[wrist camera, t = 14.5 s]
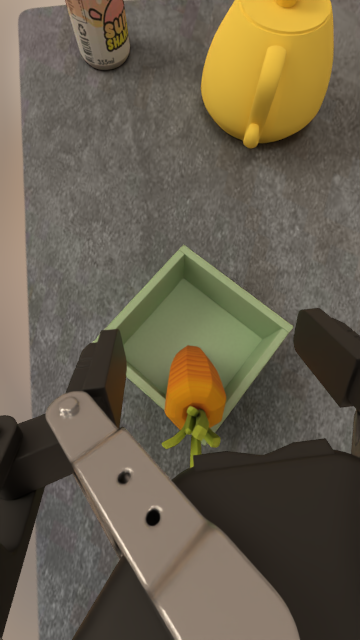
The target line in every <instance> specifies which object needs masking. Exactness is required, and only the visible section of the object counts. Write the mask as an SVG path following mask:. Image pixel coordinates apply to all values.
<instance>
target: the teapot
mask: <svg viewBox="0 0 360 640" xmlns="http://www.w3.org/2000/svg"><path fill="white" fill-rule="evenodd" d="M333 49H334V44H333V14H332V6H331V2H330V0H235V1H234V3H233V4H232V6H231V8H230V9H229V11H228V13H227V14H226V16H225V18H224V19H223V21H222V23H221V24H220V26H219V28H218V30H217V32H216V34H215V36H214V38H213V41H212V43H211V46H210V48H209V51H208V54H207V58H206V61H205V65H204V69H203V75H202V83H201V92H202V98H203V102H204V104H205V107H206V109H207V111H208V112H209V114H210V115H211V117H212V118H213V119H214V121H215V122H216V123H217V124H218V125H219V127H220V128H221V129H222V130H224V131H225V132H226V133H228V134H229V135H231V136H233V137H235V138H237V139H240V140H243V144H244V145H245V146H246V147H247V148H254V147H256V146H257V144H258V143H269V142H274V141H278V140H281V139H283V138H286V137H288V136H290V135H292V134H294V133H296V132H298V131H299V130H301V129H303V128H304V127H305V126H306V125H307V124H309V122H310V121H311V120H312V119H313V118H314V117H315V116H316V114H317V112H318V111H319V109H320V106H321V104H322V102H323V99H324V97H325V94H326V91H327V88H328V84H329V80H330V75H331V70H332V63H333Z"/></svg>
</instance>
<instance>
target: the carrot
mask: <svg viewBox="0 0 360 640" xmlns="http://www.w3.org/2000/svg"><path fill="white" fill-rule="evenodd" d="M225 403H226V394H225V391H224V388H223V385H222V382H221V379H220V377H219V374H218V372H217V370H216V368H215V367H214V365H213V364H212V362H211V361H210V360H209V358H208V357H207V356H206V355H205V353H204V352H203V351H202V350H201V348H199V347H197V346H190V345H187V346H186V347H185V348H183V349H182V350H180V351H179V352H178V353H177V354H176V355H175V357H174V359H173V361H172V364H171V367H170V373H169V379H168V386H167V393H166V401H165V414H166V416H167V417H168V418H169V419H170V420H171V421H172V422H173V423H174V424H175V425H176V426H177V427H178V428H179V429H180V431H179V432H178V433H177V434H176V435H175V436H173V437H172V438H170V439H168V440H166V441H164V442H163V443H162V446H163V447H164V448H166V449H168V448H171V447H173V446H175V445H177V444H179V443H180V441H181V440H182V439H183V438H184V437H185V436H186V434H188V435H189V434H191V433H192V437H191V454H190V468H191V467H193V466H194V464H193V455H200V454H201V441H202V440H203V438H204V439H205V441H206V442H207V443H208V444H209V445H210V446H211V447H214V448H216V447H218V446H219V444H220V439H221V438H220V437H219V436H218V435H217V434H216V433H214V432H213V431H212V430H211V429H210V428H211V427H213V426H214V425H216V424H218V423H219V422H221V421H222V416H223V412H224V408H225Z"/></svg>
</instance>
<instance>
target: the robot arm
mask: <svg viewBox="0 0 360 640" xmlns="http://www.w3.org/2000/svg"><path fill="white" fill-rule="evenodd" d="M294 348H295V350H296V352H297V353H298V355H299V356H300V357H301V359H302V360H303V361H304V362H305V364H306V365H307V366H308V367H309V369H310V370H311V371H312V373H313V374H314V375H315V376H316V378H317V379H318V380H319V381H320V383H321V384H322V385H323V386H324V388H325V389H326V390H327V392H328V393H329V394H330V395H331V397H332V398H333V399H334V400H335V402H336V403H337V404H338V406H339V407H340V408H341V407H349V406H354V407H355V408H356V411H355V414H354V422H353V435H352V448H351V454H349V453H346V452H342V451H338V450H333V449H332V448H331V446H330V444H329V443H328V441H327V440H326V438H325V439H317V440H309V441H301V442H294V443H291V444H289V445H287V446H284V447H282V448H280V449H277V450H275V451H273V452H270V453H268V454H265V455H255V454H246V453H238V452H229V451H223V452H215V453H207V454H200V455H193V464H194V466H193V467H191V468H189V469H187V470H185V471H183V472H181V473H180V474H178V475H177V476H176V477H175V478H173V479H172V480H171V479H170V478H169V477H168V476H167V475H166V474H165V473H164V471H163V470H162V469H161V468H160V467H159V466H158V465H157V463H156V462H155V461H154V460H153V459H152V458H151V457H150V455H149V454H148V453H147V452H146V451H145V450H144V449H143V448H142V446H141V445H140V444H139V443H138V442H137V441H136V440H135V438H134V437H133V436H132V435H131V434H130V433H129V432H128V431H127V430H126V429H125V428H124V427H121V428H119V425H120V418H121V410H122V403H123V395H124V387H125V380H126V372H127V362H126V355H125V351H124V346H123V342H122V337H121V333H120V330H119V329H110V330H102V331H101V332H100V335H99V338H98V341H97V342H95V343H89V345H88V346H87V347H86V348H85V349H84V350H83V351H82V352H81V355H80V358H79V361H78V363H77V365H76V368H75V370H74V373H73V375H72V378H71V381H70V383H69V386H68V388H67V391H66V393H65V394H63V395H61V396H60V397H58V398H57V399H55V400H54V401H53V402H52V403H51V404H50V405H49V407H48V408H47V411H46V413H45V414H43V415H41V416H39V417H36V418H33V419H30V420H28V421H25V422H22V423H19V424H17V422H16V420H15V419H14V418H13V417H11V416H6V415H4V416H0V640H3V639H2V636H3V632H4V629H5V625H6V621H7V618H8V614H9V611H10V608H11V604H12V601H13V597H14V594H15V590H16V587H17V583H18V579H19V576H20V573H21V569H22V566H23V562H24V558H25V555H26V551H27V548H28V544H29V541H30V537H31V534H32V530H33V527H34V523H35V520H36V516H37V513H38V509H39V506H40V502H41V499H42V495H43V492H44V488H45V486H46V485H48V484H50V483H53V482H55V481H57V480H59V479H62V478H64V477H66V476H68V475H71V474H73V475H74V477H75V479H76V480H77V482H78V484H79V486H80V488H81V489H82V491H83V493H84V495H85V497H86V498H87V500H88V502H89V504H90V506H91V507H92V509H93V511H94V513H95V515H96V516H97V518H98V520H99V522H100V524H101V526H102V528H103V530H104V532H105V534H106V536H107V537H108V539H109V541H110V543H111V545H112V547H113V548H114V550H115V552H116V554H117V556H118V557H119V559H120V560H119V562H118V564H117V565H116V567H115V569H114V570H113V572H112V574H111V575H110V577H109V579H108V580H107V582H106V584H105V585H104V587H103V589H102V590H101V592H100V594H99V595H98V597H97V599H96V600H95V602H94V604H93V605H92V607H91V609H90V610H89V612H88V614H87V615H86V617H85V619H84V620H83V622H82V624H81V625H80V627H79V629H78V630H77V632H76V634H75V635H74V637H73V639H72V640H360V336H359V335H358V334H357V333H356V332H355V331H353V330H352V329H351V328H350V327H348V326H347V325H346V324H345V323H343V322H341V321H338V320H336V319H334V318H331V317H330V316H329V315H327V314H326V313H325V312H324V311H322V310H321V309H320V308H314V309H304V310H300V311H299V313H298V317H297V323H296V328H295V334H294Z"/></svg>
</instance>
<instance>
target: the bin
mask: <svg viewBox="0 0 360 640" xmlns="http://www.w3.org/2000/svg"><path fill="white" fill-rule="evenodd" d="M292 328H293V326H292V325H291V324H289V323H288V322H287V321H285V320H284V319H283V318H281V317H280V316H278V315H277V314H276V313H274V312H273V311H272V310H270V309H269V308H268V307H266V306H265V305H264V304H262V303H261V302H260V301H258V300H257V299H256V298H254V297H253V296H252V295H250V294H249V293H248V292H246V291H245V290H244V289H242V288H241V287H240V286H238V285H237V284H236V283H234V282H233V281H232V280H230V279H229V278H228V277H226V276H225V275H224V274H222V273H221V272H220V271H218V270H217V269H216V268H214V267H213V266H211V265H210V264H209V263H207V262H206V261H205V260H203V259H202V258H201V257H199V256H198V255H197V254H195V253H194V252H193V251H191V250H190V249H189V248H187V247H186V246H185V245H183V246H182V247H181V248H180V249H179V250H178V251H177V252H176V253H175V254H174V255H173V256H172V258H171V259H170V260H169V261H168V262H167V263H166V264H165V265H164V266H163V267H162V268H161V269H160V270H159V272H158V273H157V274H156V275H155V276H154V277H153V278H152V279H151V280H150V281H149V282H148V283H147V284H146V285H145V287H144V288H143V289H142V290H141V291H140V292H139V293H138V294H137V295H136V296H135V297H134V298H133V299H132V301H131V302H130V303H129V304H128V305H127V306H126V307H125V308H124V309H123V310H122V311H121V312H120V313H119V315H118V316H117V317H116V318H115V319H114V320H113V321H112V322H111V323H110V324H109V325H108V326H107V327H106V328H105V330H110V329H119V330H120V333H121V337H122V342H123V346H124V351H125V355H126V362H127V372H126V377H127V378H128V379H130V380H131V381H132V382H133V383H134V384H135V385H136V386H137V387H139V388H140V389H141V390H142V391H143V392H144V393H145V394H146V395H148V396H149V397H150V398H151V399H152V400H153V401H154V402H155V403H157V404H158V405H159V406H160V407H161V408H162V409H163V410H164V411H165V401H166V393H167V386H168V379H169V373H170V367H171V364H172V361H173V359H174V357H175V355H176V354H177V353H178V352H179V351H180V350H182V349H183V348H185V347H186V346H187V345H190V346H197V347H199V348H201V350H202V351H203V352H204V353H205V355H206V356H207V357H208V358H209V360H210V361H211V362H212V364H213V365H214V367H215V368H216V370H217V372H218V374H219V377H220V379H221V382H222V385H223V388H224V391H225V394H226V403H225V408H224V412H223V416H222V421H221V422H219V423H218V424H216V425H214V426H213V427H211V428H210V429H211V430H212V431H213V432H214V433H215V432H216V431H217V429H218V428H219V427H220V425H221V424H222V423H223V421H224V420H225V419H226V417H227V416H228V415H229V413H230V412H231V411H232V409H233V408H234V406H235V405H236V404H237V402H238V401H239V400H240V398H241V397H242V396H243V394H244V393H245V392H246V390H247V389H248V388H249V386H250V385H251V384H252V382H253V381H254V379H255V378H256V377H257V375H258V374H259V373H260V371H261V370H262V369H263V367H264V366H265V365H266V363H267V362H268V361H269V359H270V358H271V357H272V355H273V354H274V352H275V351H276V350H277V348H278V347H279V346H280V344H281V343H282V342H283V340H284V339H285V338H286V336H287V335H288V333H289V332H290V331H291V330H292ZM98 338H99V336H98V337H97V339H95V340H94V342H93V343H95V342H97V341H98ZM191 435H192V433H191ZM201 443H202V444H203V445H204V446H206V444H207V442H206V441H205V439H204V438H203V440H202V441H201Z"/></svg>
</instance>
